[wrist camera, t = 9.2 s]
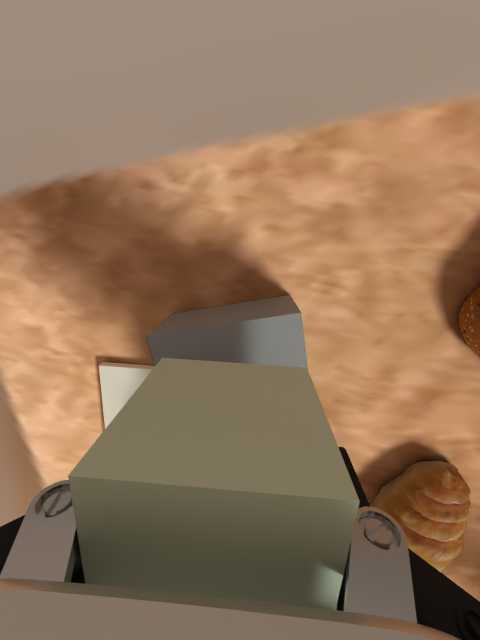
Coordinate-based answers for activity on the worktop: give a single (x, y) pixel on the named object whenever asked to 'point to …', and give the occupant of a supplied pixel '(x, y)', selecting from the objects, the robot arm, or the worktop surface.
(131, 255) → the worktop surface
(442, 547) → the pastry
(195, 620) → the robot arm
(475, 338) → the pretzel
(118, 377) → the card
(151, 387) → the sage block
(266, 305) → the base block
